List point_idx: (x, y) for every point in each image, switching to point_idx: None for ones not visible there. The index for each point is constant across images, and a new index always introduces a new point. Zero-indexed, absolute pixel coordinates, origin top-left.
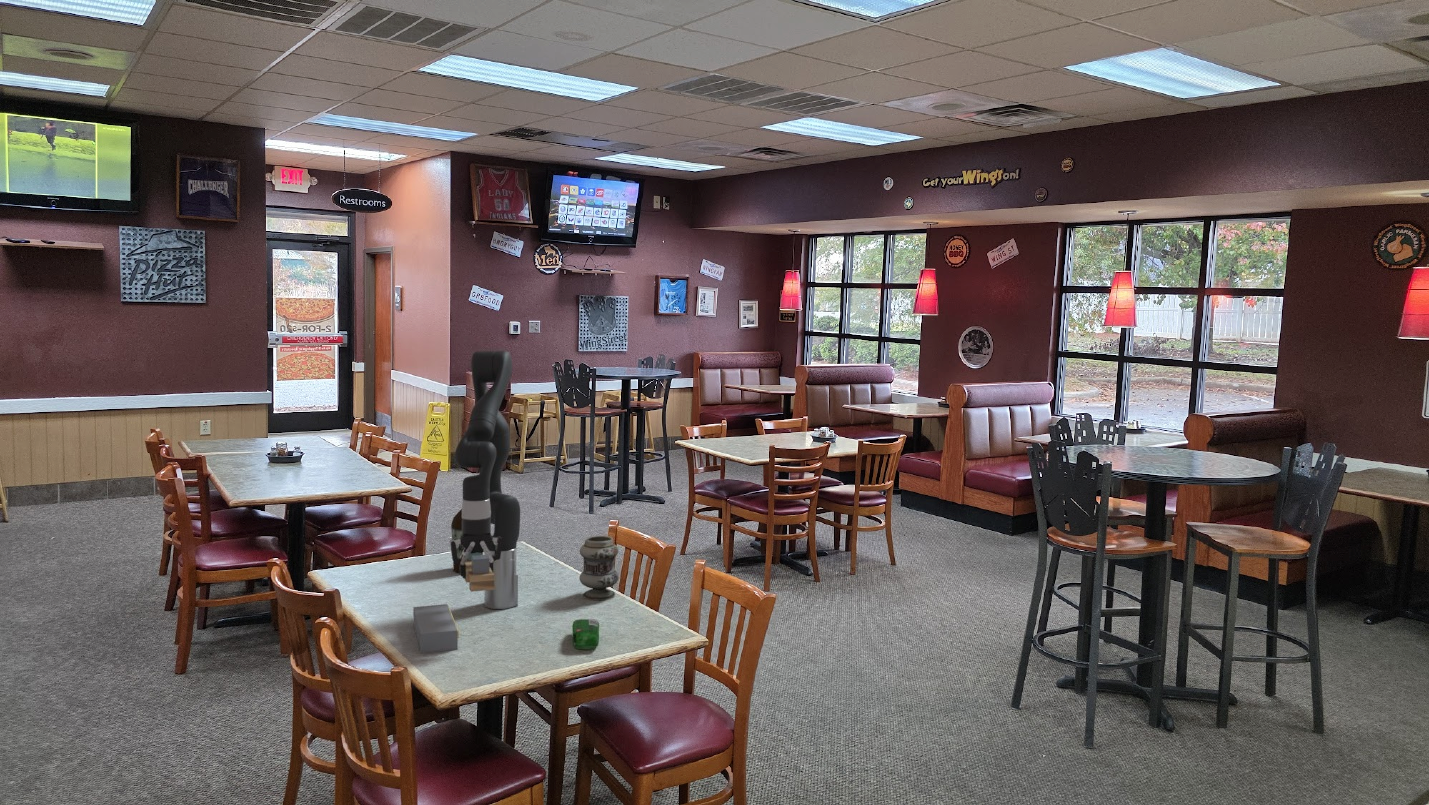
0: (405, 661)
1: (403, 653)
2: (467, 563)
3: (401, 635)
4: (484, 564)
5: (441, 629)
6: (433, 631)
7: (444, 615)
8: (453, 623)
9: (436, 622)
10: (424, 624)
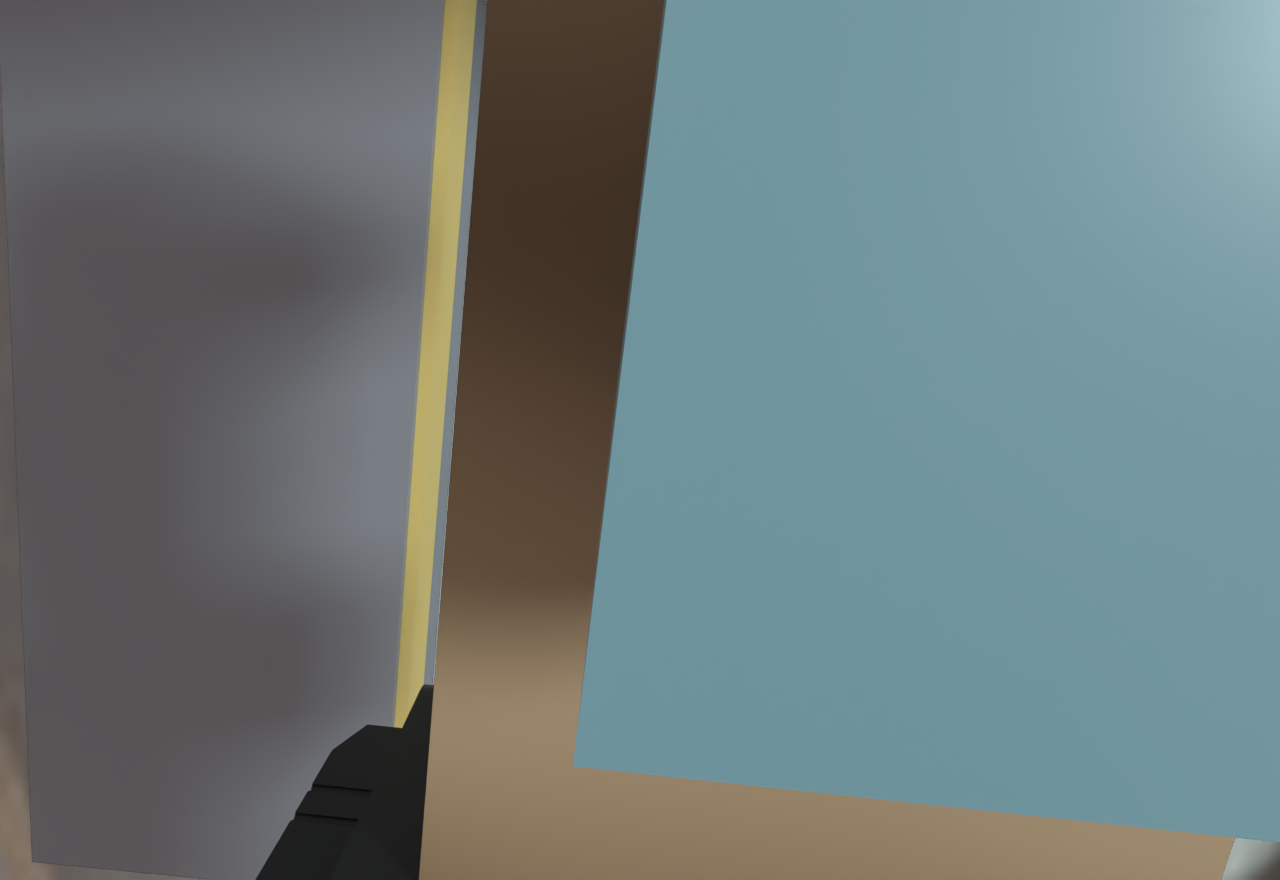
0: (15, 854)
1: (6, 694)
2: (557, 753)
3: (3, 242)
4: None
5: (236, 819)
6: (154, 841)
7: (334, 402)
8: (379, 702)
9: (215, 601)
10: (84, 613)
